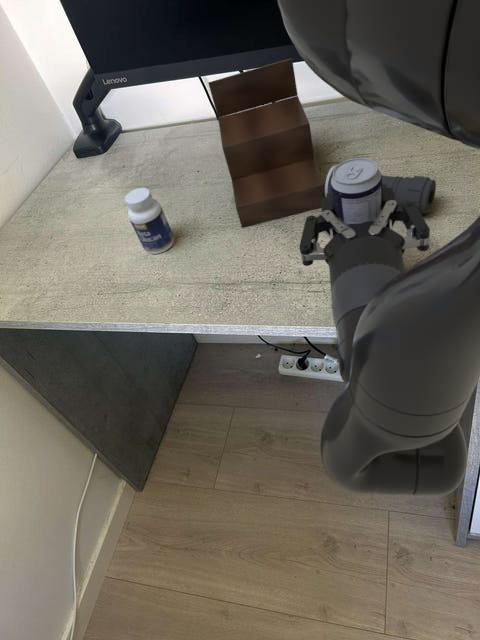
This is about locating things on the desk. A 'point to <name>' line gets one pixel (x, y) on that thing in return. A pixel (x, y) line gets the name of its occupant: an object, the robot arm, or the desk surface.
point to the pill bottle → (149, 221)
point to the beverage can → (357, 191)
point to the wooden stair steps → (267, 144)
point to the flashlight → (404, 189)
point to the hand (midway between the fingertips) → (356, 194)
